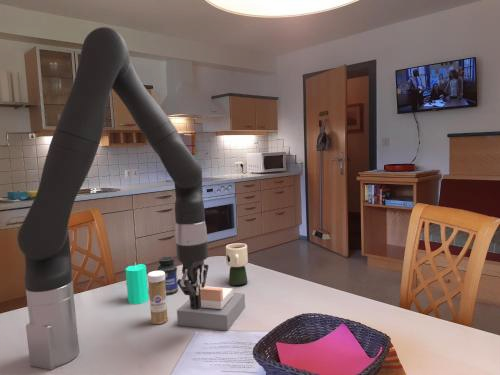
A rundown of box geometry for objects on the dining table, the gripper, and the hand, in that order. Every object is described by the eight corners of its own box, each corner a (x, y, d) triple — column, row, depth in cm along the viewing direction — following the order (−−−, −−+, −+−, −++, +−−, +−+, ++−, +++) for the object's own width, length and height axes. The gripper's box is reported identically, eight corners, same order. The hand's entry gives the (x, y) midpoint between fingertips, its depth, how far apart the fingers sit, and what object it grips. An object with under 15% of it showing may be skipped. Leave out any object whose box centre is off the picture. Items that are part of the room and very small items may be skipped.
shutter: (221, 309, 98) (220, 290, 97) (189, 306, 101) (188, 288, 100) (233, 295, 106) (232, 278, 106) (203, 292, 109) (202, 276, 108)
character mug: (228, 278, 132) (226, 242, 131) (248, 277, 132) (246, 241, 131) (227, 290, 121) (225, 251, 120) (249, 289, 122) (247, 249, 120)
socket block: (227, 330, 95) (226, 315, 95) (177, 324, 99) (176, 310, 99) (245, 307, 108) (244, 293, 108) (200, 302, 113) (199, 290, 112)
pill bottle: (159, 296, 119) (156, 262, 118) (158, 289, 125) (156, 257, 123) (179, 293, 120) (176, 260, 119) (177, 287, 126) (175, 254, 125)
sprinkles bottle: (153, 326, 99) (149, 277, 98) (149, 319, 103) (145, 272, 102) (170, 322, 101) (167, 273, 100) (165, 315, 105) (162, 268, 104)
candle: (151, 296, 120) (148, 259, 118) (144, 304, 114) (141, 265, 112) (133, 296, 120) (129, 259, 119) (125, 304, 114) (121, 265, 113)
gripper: (193, 248, 84) (198, 322, 86) (216, 233, 97) (220, 298, 99) (163, 246, 87) (169, 318, 89) (189, 233, 99) (194, 296, 101)
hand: (196, 308), depth 94 cm, fingers closed
